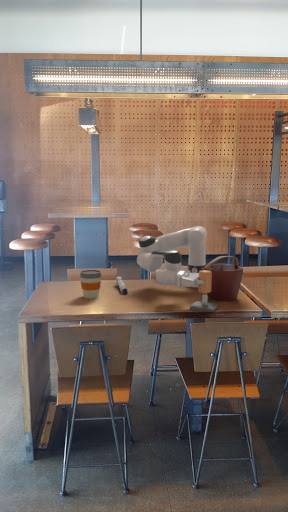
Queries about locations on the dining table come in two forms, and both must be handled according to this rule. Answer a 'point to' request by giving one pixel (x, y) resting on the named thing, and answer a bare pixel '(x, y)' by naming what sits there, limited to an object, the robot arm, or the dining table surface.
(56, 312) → the dining table surface
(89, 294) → the reusable coffee cup
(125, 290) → the white blue cylinder
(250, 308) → the dining table surface
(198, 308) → the post base
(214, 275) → the bucket
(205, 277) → the tan upright cylinder
